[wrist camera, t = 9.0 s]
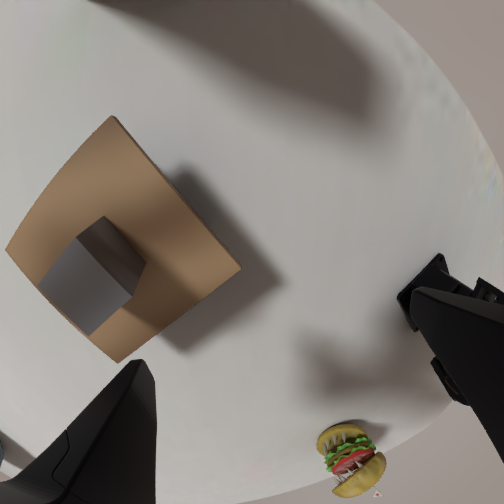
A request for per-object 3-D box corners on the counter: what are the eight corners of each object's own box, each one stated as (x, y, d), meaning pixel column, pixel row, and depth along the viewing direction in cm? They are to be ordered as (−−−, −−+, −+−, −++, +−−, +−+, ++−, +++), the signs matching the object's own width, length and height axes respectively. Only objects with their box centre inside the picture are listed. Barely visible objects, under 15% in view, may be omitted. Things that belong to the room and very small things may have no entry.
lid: (239, 262, 15) (254, 304, 11) (120, 355, 16) (107, 404, 12) (115, 117, 11) (82, 104, 7) (11, 245, 12) (-29, 274, 8)
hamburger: (332, 414, 28) (372, 492, 17) (372, 412, 30) (412, 477, 19) (301, 447, 30) (329, 518, 19) (341, 444, 32) (371, 505, 21)
